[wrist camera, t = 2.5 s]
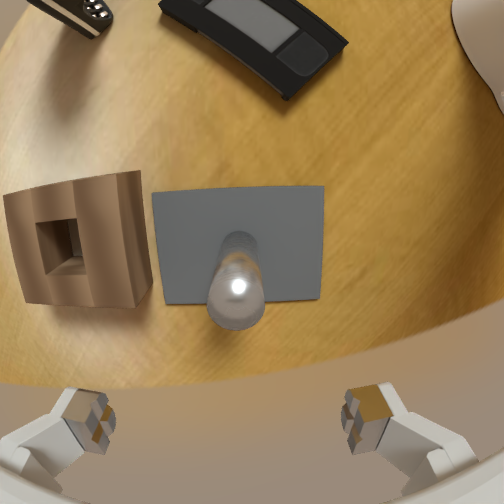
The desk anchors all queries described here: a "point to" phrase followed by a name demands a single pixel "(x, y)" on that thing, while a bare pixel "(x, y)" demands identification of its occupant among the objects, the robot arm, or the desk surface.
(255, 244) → the peg
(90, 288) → the hole block
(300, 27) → the vhs tape
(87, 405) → the robot arm
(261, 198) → the mat
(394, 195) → the desk surface
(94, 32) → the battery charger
